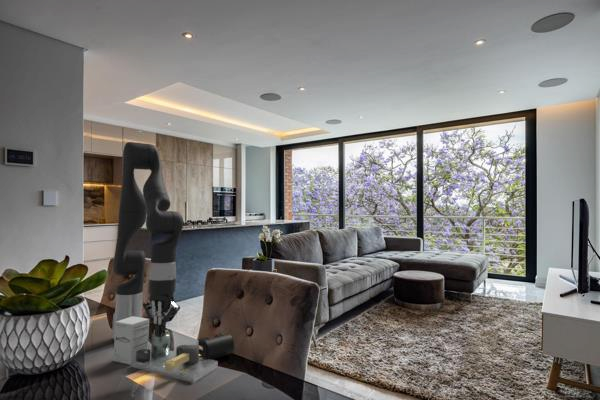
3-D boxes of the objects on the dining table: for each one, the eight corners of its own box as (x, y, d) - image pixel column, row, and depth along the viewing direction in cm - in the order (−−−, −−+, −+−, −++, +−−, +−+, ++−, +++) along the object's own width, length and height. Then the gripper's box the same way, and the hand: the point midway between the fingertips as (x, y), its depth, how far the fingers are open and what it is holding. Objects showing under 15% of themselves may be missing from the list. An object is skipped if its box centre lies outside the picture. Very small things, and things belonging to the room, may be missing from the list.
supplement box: (112, 361, 107) (114, 321, 108) (131, 353, 114) (133, 315, 115) (130, 365, 105) (132, 324, 105) (148, 356, 111) (150, 318, 112)
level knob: (190, 356, 107) (190, 343, 107) (201, 359, 105) (202, 346, 105) (160, 372, 95) (160, 358, 95) (172, 375, 93) (172, 361, 94)
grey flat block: (131, 366, 104) (132, 336, 104) (161, 353, 115) (162, 325, 115) (193, 383, 94) (194, 349, 95) (219, 366, 105) (220, 336, 106)
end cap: (207, 365, 106) (208, 343, 107) (196, 358, 111) (197, 337, 111) (234, 356, 113) (234, 336, 114) (222, 350, 118) (223, 331, 119)
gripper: (136, 277, 100) (133, 336, 99) (170, 280, 95) (167, 343, 94) (155, 274, 107) (153, 329, 106) (188, 277, 102) (186, 335, 101)
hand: (159, 336), depth 100 cm, fingers closed
